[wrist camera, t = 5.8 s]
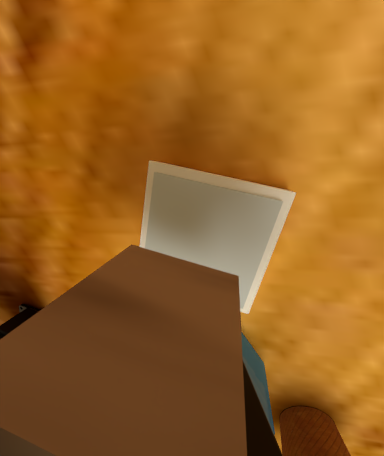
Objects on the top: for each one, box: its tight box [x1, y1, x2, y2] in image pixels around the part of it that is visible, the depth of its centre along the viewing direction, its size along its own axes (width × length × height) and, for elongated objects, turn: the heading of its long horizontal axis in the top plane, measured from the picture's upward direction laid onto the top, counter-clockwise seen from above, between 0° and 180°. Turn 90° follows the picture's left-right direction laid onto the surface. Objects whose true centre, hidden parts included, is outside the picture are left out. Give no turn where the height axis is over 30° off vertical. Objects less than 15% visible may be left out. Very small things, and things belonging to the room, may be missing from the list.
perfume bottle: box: [241, 332, 275, 434], centre depth 17 cm, size 6×6×12 cm
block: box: [0, 245, 247, 456], centre depth 6 cm, size 5×5×6 cm
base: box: [140, 160, 296, 314], centre depth 17 cm, size 12×12×2 cm
